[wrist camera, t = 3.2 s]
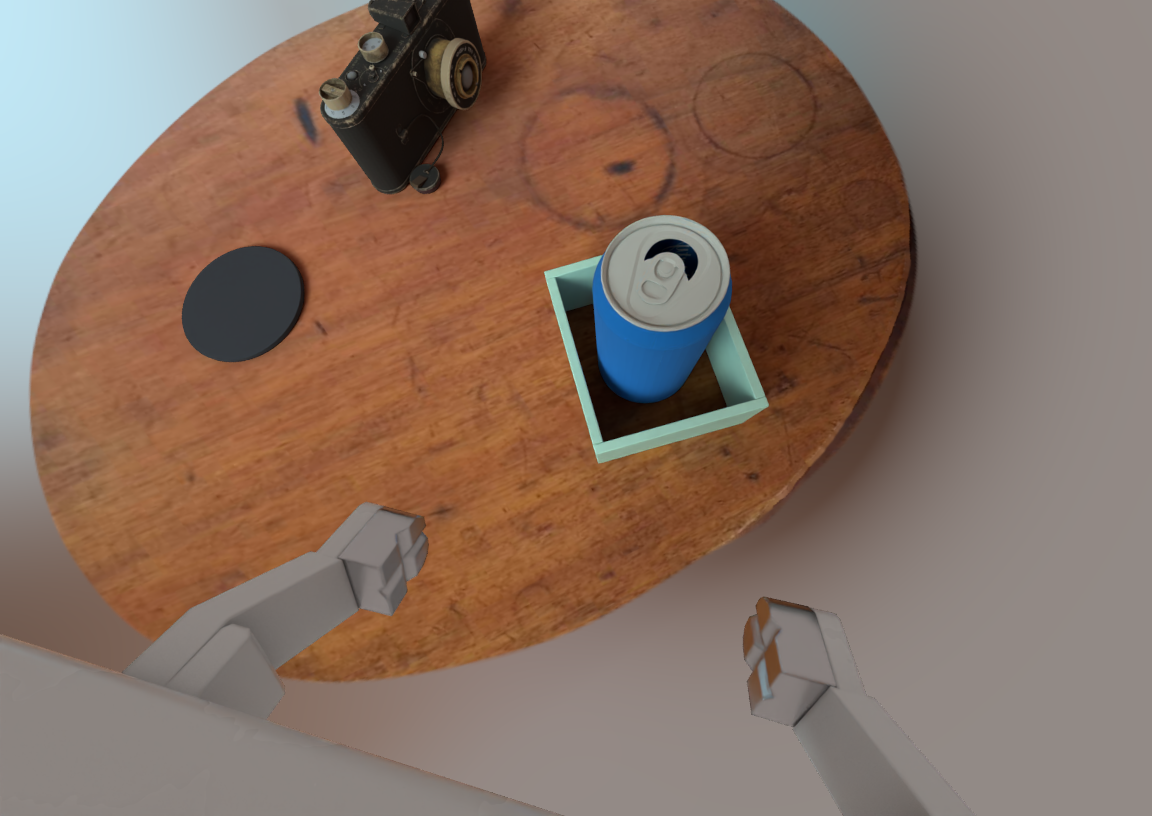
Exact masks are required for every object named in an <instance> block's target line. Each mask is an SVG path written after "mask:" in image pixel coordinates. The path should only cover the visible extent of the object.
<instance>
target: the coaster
mask: <svg viewBox="0 0 1152 816" xmlns="http://www.w3.org/2000/svg"><path fill="white" fill-rule="evenodd" d="M303 302H304V284H303V279H302V276H301V274H300V272H299V270H298V268H297V267H296V265H295V264H294V263H293V262H292V261H291V260H290V259H289V258H288V257H286V256H285V255H283V254H282V253H280V252H278V251H276V250H274V249H271V248H267V247H260V246H251V247H243V248H239V249H236V250H233V251H230V252H228V253H226V254H224V255H222V256H220V257H218V258H217V259H215V260H214V261H212V262H211V263H210V264H209V265H207V266H206V267H205V268H204V269H203V270H202V271H201V272H200V273H199V275H198V276H197V277H196V279H195V280H194V281H193V283H192V284H191V286H190V288H189V290H188V292H187V294H186V297H185V300H184V304H183V309H182V324H183V329H184V332H185V335H186V337H187V339H188V340H189V342H190V343H191V345H192V346H193V347H194V348H195V349H196V350H197V351H199V352H200V353H201V354H203V355H205V356H207V357H209V358H212V359H215V360H218V361H224V362H239V361H245V360H249V359H252V358H255V357H258V356H260V355H262V354H264V353H266V352H267V351H269V350H271V349H272V348H274V347H275V346H276V345H277V344H279V343H280V342H281V341H282V340H283V339H284V338H285V337H286V336H287V335H288V333H289V332H290V331H291V329H292V328H293V326H294V325H295V323H296V321H297V319H298V317H299V315H300V313H301V310H302V306H303Z"/></svg>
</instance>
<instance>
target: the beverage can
mask: <svg viewBox="0 0 1152 816" xmlns="http://www.w3.org/2000/svg"><path fill="white" fill-rule="evenodd" d="M592 291H593V304H594V316H595V329H596V342H597V354H598V366H599V370H600V373H601V376H602V378H603V380H604V382H605V383H606V384H607V386H608V387H609V388H610V389H611V390H612V391H613V392H614V393H616V394H617V395H618V396H620V397H622V398H624V399H626V400H629V401H632V402H636V403H654V402H659V401H661V400H664V399H666V398H668V397H670V396H672V395H673V394H675V393H676V392H677V391H678V390H679V389H680V388H681V387H682V386H683V384H684V383H685V381H686V380H687V378H688V376H689V375H690V373H691V371H692V370H693V368H694V366H695V365H696V363H697V361H698V360H699V358H700V356H701V355H702V353H703V351H704V350H705V348H706V346H707V345H708V343H709V341H710V340H711V338H712V336H713V335H714V333H715V332H716V330H717V328H718V327H719V325H720V323H721V322H722V320H723V318H724V317H725V315H726V312H727V310H728V308H729V304H730V301H731V295H732V280H731V274H730V265H729V260H728V256H727V253H726V251H725V249H724V247H723V245H722V244H721V242H720V241H719V239H718V238H717V237H716V236H715V235H714V234H713V233H712V232H711V231H710V230H708V229H707V228H706V227H704V226H703V225H701V224H699V223H697V222H695V221H693V220H690V219H687V218H684V217H680V216H672V215H660V216H652V217H648V218H644V219H641V220H639V221H637V222H634V223H632V224H631V225H629V226H627V227H626V228H624V229H623V230H622V231H621V232H620V233H619V234H618V235H617V236H616V237H615V238H614V239H613V240H612V242H611V243H610V244H609V246H608V248H607V250H606V251H605V253H604V254H603V255H602V257H601V259H600V261H599V262H598V265H597V267H596V270H595V273H594V277H593V286H592Z"/></svg>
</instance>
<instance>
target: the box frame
mask: <svg viewBox="0 0 1152 816" xmlns="http://www.w3.org/2000/svg"><path fill="white" fill-rule="evenodd" d="M601 257H602V255H601V256H597V257H594V258H590V259H587V260H583V261H580V262H576V263H573V264H569V265H566V266H562V267H559V268H556V269H552V270H549V271H545V272H544V274H545V277H546V281H547V285H548V288H549V292H550V295H551V299H552V303H553V306H554V310H555V313H556V317H557V320H558V324H559V327H560V331H561V334H562V338H563V341H564V345H565V348H566V352H567V355H568V359H569V362H570V366H571V370H572V373H573V377H574V380H575V384H576V387H577V391H578V394H579V398H580V401H581V405H582V408H583V412H584V415H585V419H586V422H587V426H588V429H589V433H590V436H591V440H592V443H593V447H594V450H595V454H596V457H597V461H598V463H603V462H606V461H610V460H613V459H617V458H620V457H624V456H627V455H631V454H634V453H638V452H642V451H645V450H649V449H652V448H656V447H659V446H663V445H666V444H670V443H674V442H677V441H681V440H684V439H688V438H691V437H695V436H698V435H702V434H705V433H709V432H713V431H716V430H720V429H723V428H727V427H730V426H734V425H737V424H741V423H743V422H745V421H746V420H748V419H749V418H751V417H752V416H754V415H756V414H757V413H759V412H760V411H762V410H763V409H765V408H767V407H768V406H769V404H768V401H767V399H766V397H765V394H764V391H763V389H762V386H761V384H760V381H759V379H758V376H757V374H756V371H755V369H754V366H753V364H752V361H751V359H750V356H749V354H748V351H747V349H746V346H745V344H744V341H743V339H742V336H741V334H740V331H739V329H738V326H737V324H736V322H735V319H734V317H733V314H732V312H731V309H730V307H729V308H728V310H727V312H726V315H725V317H724V318H723V320H722V322H721V323H720V325H719V327H718V328H717V330H716V332H715V333H714V335H713V336H712V338H711V340H710V341H709V343H708V345H707V346H706V348H705V349H706V352H707V354H708V357H709V360H710V362H711V365H712V368H713V370H714V373H715V376H716V378H717V381H718V384H719V386H720V389H721V392H722V394H723V397H724V399H725V402H726V405H727V407H726V408H723V409H719V410H715V411H712V412H708V413H705V414H701V415H698V416H694V417H691V418H687V419H684V420H680V421H677V422H673V423H669V424H666V425H662V426H659V427H655V428H652V429H648V430H645V431H641V432H638V433H634V434H630V435H627V436H623V437H620V438H616V439H613V440H609V441H606V442H603V439H602V436H601V432H600V429H599V426H598V422H597V419H596V415H595V412H594V408H593V405H592V402H591V398H590V395H589V391H588V388H587V384H586V381H585V377H584V374H583V371H582V367H581V364H580V360H579V357H578V353H577V350H576V347H575V343H574V340H573V336H572V333H571V329H570V326H569V323H568V319H567V316H566V311H569V310H573V309H576V308H579V307H583V306H586V305H590V304H593V291H592V286H593V277H594V273H595V270H596V267H597V265H598V262H599V261H600V259H601Z"/></svg>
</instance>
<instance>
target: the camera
mask: <svg viewBox="0 0 1152 816" xmlns="http://www.w3.org/2000/svg"><path fill="white" fill-rule="evenodd" d="M368 10H369V13H370V15H371V16H372V17H373V19H374V21H376V22H379V24H378V25H377V27H376V28H375V29H374V31H373V32H369V33H366V34H364V35H363V36H362V37H361V38H360V39H359V41H358V48H359V49H360V50H359V51H358V52H357V54H356V55H355V57H354V58H353V59H352V61H351V62H350V63H349V65H348V66H347V67H346V69H345V70H344V71H343V73H342V74H341V76H340V77H339V78H332V79H329V80H327V81H325V82H324V83H323V84H322V85H321V87H320V90H319V94H320V97H321V98H322V99H323V100H322V102H321V107H320V110H321V114H322V116H323V117H324V119H325V120H326V121H327V123H328V124H330V126H331V127H332V128H333V130H334V131H335V133H336V134H337V135H338V137H339V138H340V139H341V141H342V142H343V143H344V145H345V146H346V148H347V149H348V150H349V152H350V153H351V154H352V156H353V157H354V159H355V160H356V161H357V163H358V164H359V165H360V167H361V168H362V169H363V171H364V172H365V174H366V175H367V176H368V178H369V179H370V180H371V183H372V184H373V186H374V187H375V188H376V189H377V190H378V191H379V192H381V193H385V194H394V193H397V192H400V191H401V190H403V189H404V188H405V187H406V185H407V184H408V182H409V181H410V184H411V186H412V187H413V188H415V189H416V190H417V191H418V192H420V193H423V194H427V193H431V192H434V191H435V190H436V189H437V188H438V187H439V185H440V182H441V178H440V173H439V170H438V169H437V168H436V167H435V166H433V165H434V164H435V163H436V161H437V160H438V158H439V157H440V155H441V153H442V150H443V146H444V140H443V136H442V133H441V132H442V131H443V129H444V128H445V126H446V125H447V123H448V122H449V120H450V119H451V117H452V116H453V114H454V113H455V111H456V110H457V108H458V109H461V110H468V109H470V108H471V107H472V106H473V105H474V103H475V102H476V100H477V98H478V95H479V92H480V88H481V81H482V70H483V69H484V67H485V65H486V56H485V52H484V50H483V47H482V43H481V39H480V36H479V32H478V29H477V25H476V21H475V18H474V14H473V10H472V7H471V3H470V0H371V1H369V4H368ZM439 135H441V138H442V147H441V150H440V153H439V155H438V156H437V158H436V159H435V161H434V162H433V164H432V165H430V164H422V165H420V164H421V163H422V161H423V160H424V158H425V157H426V155H427V154H428V152H429V151H430V149H431V148H432V146H433V145H434V143H435V141H436V140H437V138H438V137H439Z"/></svg>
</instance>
